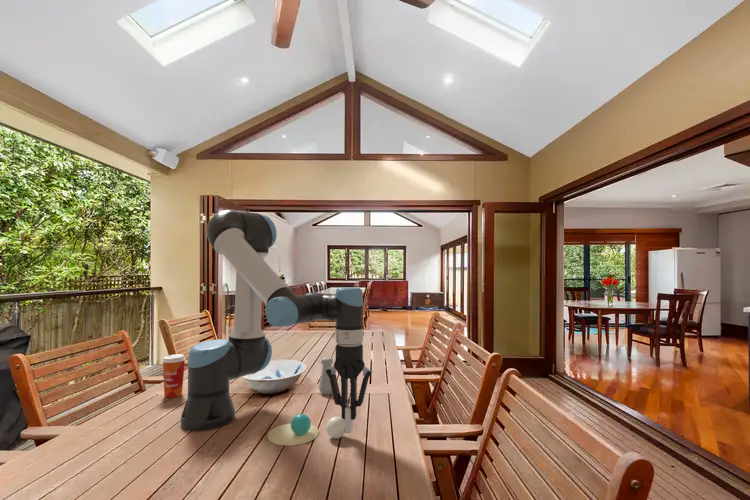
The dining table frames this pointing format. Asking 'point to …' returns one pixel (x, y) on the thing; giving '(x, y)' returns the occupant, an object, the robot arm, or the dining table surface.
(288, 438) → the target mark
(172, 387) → the paper cup
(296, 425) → the teal ball
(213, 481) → the dining table surface
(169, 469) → the dining table surface
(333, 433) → the cue ball
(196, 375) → the robot arm
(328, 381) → the salt shaker
